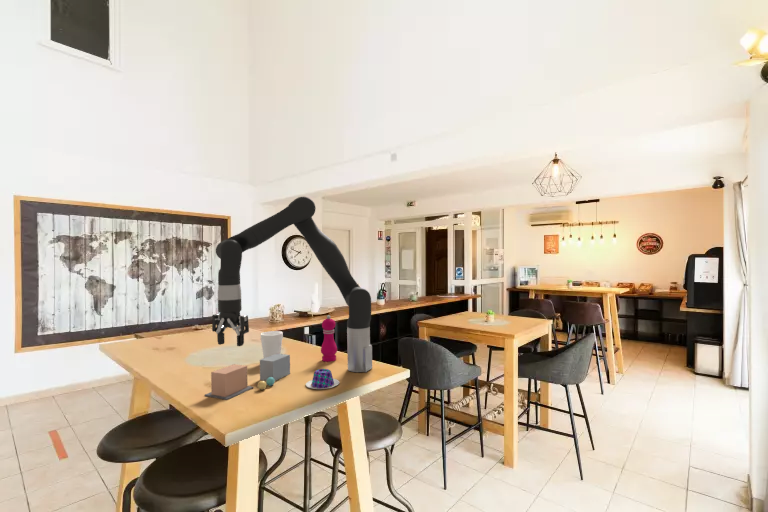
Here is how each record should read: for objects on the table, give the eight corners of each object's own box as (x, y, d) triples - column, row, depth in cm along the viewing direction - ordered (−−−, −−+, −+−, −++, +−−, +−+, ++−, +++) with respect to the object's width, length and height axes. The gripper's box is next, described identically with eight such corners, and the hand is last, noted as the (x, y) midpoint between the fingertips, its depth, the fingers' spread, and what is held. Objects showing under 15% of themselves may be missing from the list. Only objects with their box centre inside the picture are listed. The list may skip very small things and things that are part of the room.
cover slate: (290, 373, 149) (289, 354, 149) (273, 381, 140) (273, 361, 140) (277, 372, 152) (277, 353, 152) (260, 379, 142) (259, 359, 142)
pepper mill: (340, 359, 170) (340, 314, 170) (330, 363, 164) (329, 316, 164) (328, 357, 174) (327, 313, 174) (317, 360, 168) (316, 315, 168)
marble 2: (276, 384, 137) (276, 376, 137) (271, 387, 134) (271, 378, 134) (270, 383, 138) (269, 375, 138) (264, 386, 135) (264, 378, 135)
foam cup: (276, 366, 160) (276, 335, 160) (256, 365, 161) (256, 335, 161) (286, 360, 169) (286, 331, 169) (267, 359, 171) (267, 330, 171)
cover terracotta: (247, 387, 133) (247, 365, 133) (225, 396, 124) (225, 374, 124) (234, 385, 136) (233, 364, 136) (211, 394, 126) (211, 372, 127)
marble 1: (268, 388, 132) (268, 380, 132) (262, 391, 130) (262, 382, 130) (261, 387, 134) (261, 379, 134) (255, 390, 131) (255, 381, 131)
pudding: (346, 383, 138) (346, 368, 138) (324, 393, 128) (323, 378, 128) (321, 378, 145) (321, 364, 145) (298, 387, 134) (298, 372, 134)
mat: (253, 387, 133) (253, 386, 133) (227, 399, 122) (227, 398, 122) (231, 384, 137) (231, 383, 137) (204, 395, 126) (204, 394, 126)
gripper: (253, 297, 131) (254, 344, 131) (222, 296, 136) (223, 341, 136) (237, 299, 124) (238, 349, 124) (205, 298, 130) (206, 345, 130)
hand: (230, 345), depth 130 cm, fingers open, 8 cm apart
